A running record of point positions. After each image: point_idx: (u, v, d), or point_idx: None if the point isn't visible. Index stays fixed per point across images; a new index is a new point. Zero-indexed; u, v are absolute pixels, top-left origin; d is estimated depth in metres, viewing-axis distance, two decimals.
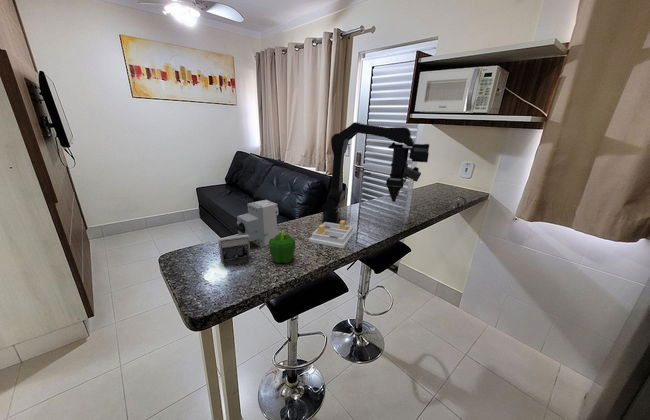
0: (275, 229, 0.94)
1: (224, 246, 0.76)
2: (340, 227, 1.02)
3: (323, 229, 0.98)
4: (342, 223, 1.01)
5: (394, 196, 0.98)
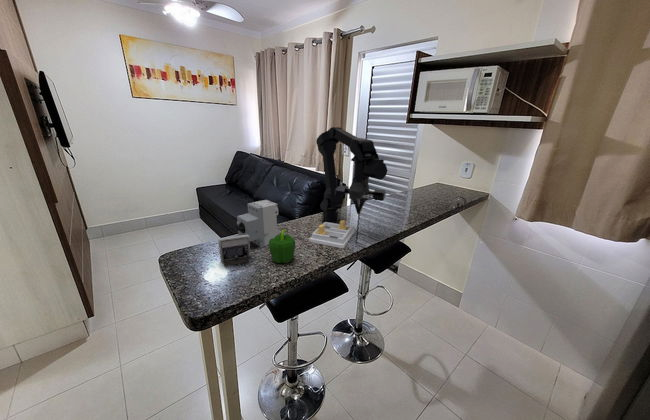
0: (275, 229, 0.94)
1: (224, 246, 0.76)
2: (340, 227, 1.02)
3: (323, 229, 0.98)
4: (342, 223, 1.01)
5: None
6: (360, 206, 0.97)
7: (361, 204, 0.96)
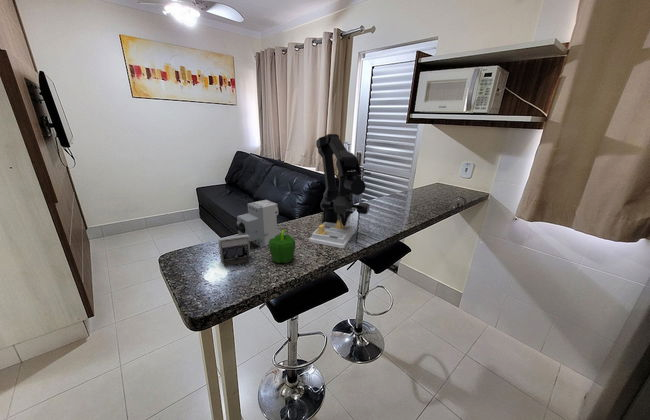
0: (275, 229, 0.94)
1: (224, 246, 0.76)
2: (337, 227, 1.03)
3: (323, 229, 0.98)
4: (339, 223, 1.02)
5: None
6: (345, 218, 1.00)
7: (346, 217, 1.00)
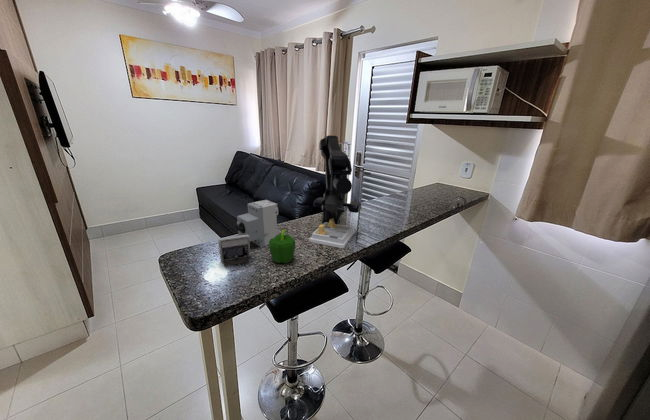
0: (275, 229, 0.94)
1: (224, 246, 0.76)
2: (330, 225, 1.04)
3: (323, 229, 0.98)
4: (331, 221, 1.03)
5: None
6: (337, 217, 1.02)
7: (338, 215, 1.01)
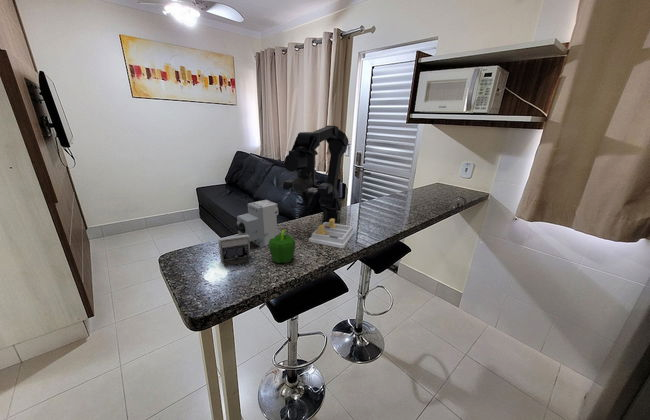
0: (275, 229, 0.94)
1: (224, 246, 0.76)
2: (329, 225, 1.04)
3: (323, 229, 0.98)
4: (331, 221, 1.03)
5: None
6: (307, 200, 0.95)
7: (308, 198, 0.95)
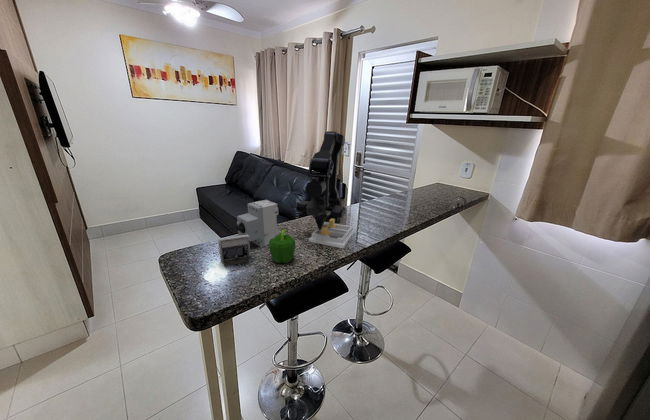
0: (275, 229, 0.94)
1: (224, 246, 0.76)
2: (329, 225, 1.04)
3: (327, 230, 0.97)
4: (331, 221, 1.03)
5: None
6: (321, 222, 0.96)
7: (321, 220, 0.95)
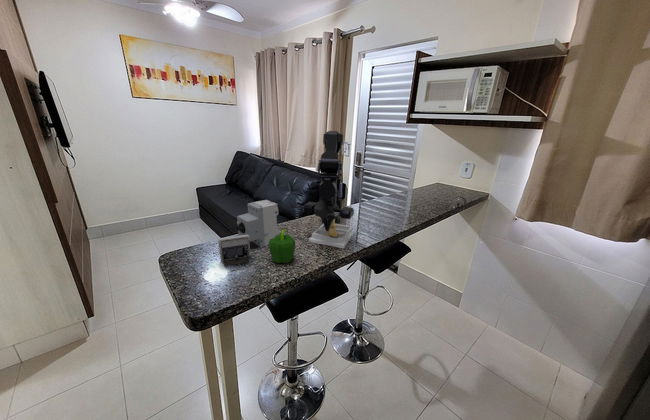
0: (275, 229, 0.94)
1: (224, 246, 0.76)
2: None
3: (334, 231, 0.96)
4: None
5: None
6: (328, 223, 0.95)
7: (329, 221, 0.94)
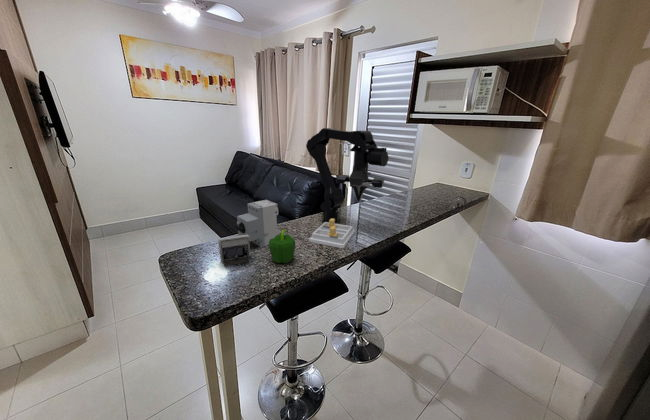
0: (275, 229, 0.94)
1: (224, 246, 0.76)
2: (329, 225, 1.04)
3: (334, 231, 0.96)
4: (331, 221, 1.03)
5: None
6: (360, 193, 1.02)
7: (361, 192, 1.02)
